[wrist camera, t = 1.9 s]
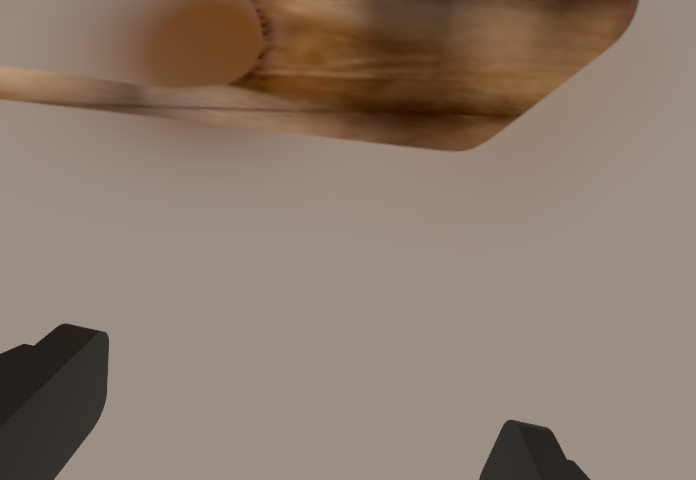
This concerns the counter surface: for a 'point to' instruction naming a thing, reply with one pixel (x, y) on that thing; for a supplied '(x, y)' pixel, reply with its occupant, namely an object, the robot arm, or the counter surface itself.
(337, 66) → the counter surface
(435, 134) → the counter surface
